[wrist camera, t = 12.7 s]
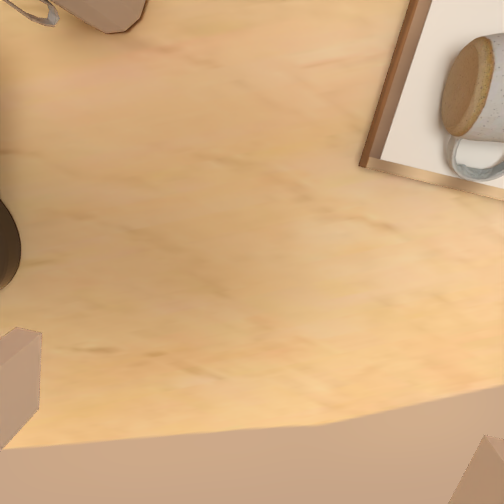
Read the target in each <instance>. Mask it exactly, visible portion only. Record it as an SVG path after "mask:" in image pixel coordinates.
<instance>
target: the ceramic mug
mask: <svg viewBox="0 0 504 504" xmlns="http://www.w3.org/2000/svg"><path fill="white" fill-rule="evenodd" d="M441 112H442V121H443V125H444V126H445V128H446V130H447V131H448V132H449V134H451V138H450V140H449V142H448V146H447V159H448V162H449V165H450V166H451V168H452V169H453V170H454V172H455V173H456V174H457V175H459V176H460V177H462V178H464V179H466V180H470V181H481V182H483V181H490V180H494V179H497V178H499V177H501V176H503V175H504V161H503V162H501V163H500V164H498V165H496V166H494V167H492V168H489V169H477V168H470V167H467V166H466V165H464V164H462V165H457V162H456V158H455V157H456V153H457V148H458V146H459V142H460V141H461V139H467V140H474V141H491V142H503V143H504V33H498V34H492V35H486V36H481V37H478V38H475V39H474V40H472V41H471V42H470V43H468V44H467V45H466V46H465V47H464V48H463V49H462V50H461V51H460V53H459V54H458V56H457V57H456V59H455V61H454V63H453V65H452V67H451V70H450V72H449V75H448V78H447V81H446V85H445V88H444V93H443V98H442V109H441Z"/></svg>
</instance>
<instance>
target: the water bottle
mask: <svg viewBox="0 0 504 504" xmlns="http://www.w3.org/2000/svg"><path fill="white" fill-rule="evenodd" d="M3 1H5V2H6V3H7V4H9V5H10V6H12V7H13V8H14V9H16V10H17V11H19V12H20V13H21V14H23V15H24V16H26V17H27V18H28V19H30V20H31V21H34V22H37V23H39V24H42V25H44V26H51V27H55V25H56V24H57V22H58V20H59V19H60V18H59V15H58V12H57V10H56V8H55V7H54V6H53V5H52V4H51V3H50V2H49V1H47V0H40V1H41V2H43V3H45V4H47V5H48V8H49V14H48V18H47V19H46V18H38V17H36V16H33V15H31V14H29V13H26V12H24V11H22V10H21V9H20V8H18V7H17V6H16V5H14V4H13V3H11V2H10V1H9V0H3ZM51 1H52V2H54V3H55V4H57V5H59V6H60V7H62V8H63V9H65V10H66V11H68V12H70V13H71V14H73V15H74V16H76V17H77V18H79V19H81V20H82V21H84V22H85V23H87V24H89V25H91V26H93V27H95V28H96V29H98V30H100V31H102V32H104V33H114V32H123V31H126V30H127V29H128V28H129V27H130V26H131V25H133V24H134V23H135V22H136V21H137V20H138V19H139V18H140V16H141V13H142V10H143V7H144V4H145V1H146V0H51Z"/></svg>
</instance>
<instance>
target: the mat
mask: <svg viewBox="0 0 504 504" xmlns="http://www.w3.org/2000/svg"><path fill="white" fill-rule="evenodd" d="M498 33H504V0H432V1H431V4H430V7H429V11H428V14H427V17H426V20H425V23H424V26H423V29H422V32H421V35H420V38H419V41H418V44H417V47H416V50H415V53H414V56H413V59H412V62H411V65H410V68H409V71H408V74H407V78H406V81H405V84H404V87H403V90H402V93H401V96H400V99H399V102H398V105H397V108H396V111H395V114H394V117H393V120H392V123H391V126H390V129H389V132H388V135H387V138H386V141H385V144H384V148H383V151H382V154H381V157H380V159H381V160H385V161H389V162H393V163H398V164H402V165H406V166H410V167H414V168H418V169H423V170H427V171H431V172H435V173H439V174H443V175H448V176H452V177H456V178H460V179H464V178H462V177H460V176H459V175H457V174H456V173H455V172H454V170H453V169H452V168H451V166H450V165H449V162H448V159H447V146H448V142H449V140H450V138H451V134H449V132H448V131H447V130H446V128H445V126H444V125H443V121H442V112H441V109H442V98H443V93H444V88H445V85H446V81H447V78H448V75H449V72H450V70H451V67H452V65H453V63H454V61H455V59H456V57H457V56H458V54H459V53H460V51H461V50H462V49H463V48H464V47H465V46H466V45H467V44H468V43H470V42H471V41H472V40H474V39H475V38H478V37H481V36H486V35H492V34H498ZM455 158H456V162H457V165H462V164H464V165H466V166H467V167H470V168H477V169H489V168H492V167H494V166H496V165H498V164H500V163H501V162H503V161H504V143H503V142H491V141H474V140H467V139H461V141H460V142H459V146H458V148H457V153H456V157H455ZM464 180H466V179H464ZM468 181H470V180H468ZM473 182H477V183H481V184H485V185H489V186H494V187H498V188H502V189H504V175H503V176H501V177H499V178H497V179H494V180H490V181H483V182H481V181H473Z"/></svg>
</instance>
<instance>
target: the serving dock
mask: <svg viewBox="0 0 504 504" xmlns="http://www.w3.org/2000/svg"><path fill="white" fill-rule="evenodd" d="M431 1H432V0H410V3H409V6H408V9H407V13H406V16H405V19H404V22H403V25H402V29H401V32H400V35H399V38H398V41H397V45H396V48H395V51H394V54H393V57H392V61H391V64H390V67H389V70H388V73H387V77H386V80H385V83H384V86H383V89H382V93H381V96H380V99H379V102H378V105H377V109H376V112H375V115H374V118H373V121H372V125H371V128H370V131H369V134H368V137H367V141H366V144H365V147H364V150H363V153H362V157H361V160H360V163H359V166H361V167H365V168H369V169H373V170H377V171H381V172H385V173H390V174H394V175H398V176H402V177H406V178H410V179H415V180H419V181H423V182H427V183H431V184H435V185H440V186H444V187H448V188H452V189H456V190H460V191H465V192H469V193H473V194H477V195H481V196H485V197H490V198H494V199H498V200H502V201H504V189H502V188H498V187H494V186H489V185H485V184H481V183H477V182H473V181H468V180H464V179H460V178H456V177H452V176H448V175H443V174H439V173H435V172H431V171H427V170H423V169H418V168H414V167H410V166H406V165H402V164H398V163H393V162H389V161H385V160H381V159H380V157H381V154H382V151H383V148H384V144H385V141H386V138H387V135H388V132H389V129H390V126H391V123H392V120H393V117H394V114H395V111H396V108H397V105H398V102H399V99H400V96H401V93H402V90H403V87H404V84H405V81H406V78H407V74H408V71H409V68H410V65H411V62H412V59H413V56H414V53H415V50H416V47H417V44H418V41H419V38H420V35H421V32H422V29H423V26H424V23H425V20H426V17H427V14H428V11H429V7H430V4H431Z"/></svg>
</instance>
